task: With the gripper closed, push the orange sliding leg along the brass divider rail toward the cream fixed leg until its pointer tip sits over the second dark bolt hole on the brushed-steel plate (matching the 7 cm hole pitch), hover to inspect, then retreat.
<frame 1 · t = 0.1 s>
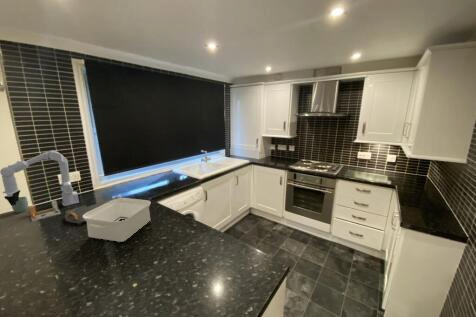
hand: (14, 203, 133), 10 cm above the countertop, fingers open, 7 cm apart
white sink basin: (122, 230, 119), on the countertop
cup: (21, 211, 142), on the countertop
slider leg: (33, 212, 134), point 3 cm above the countertop, slide at 4.5 cm
bolt plate: (46, 215, 136), on the countertop
divider rail: (45, 212, 141), on the countertop
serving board: (99, 212, 143), on the countertop
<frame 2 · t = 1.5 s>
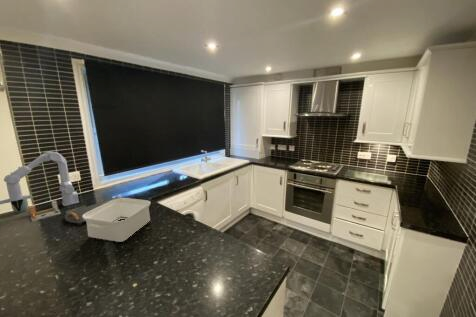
hand: (19, 210, 131), 6 cm above the countertop, fingers closed
nothing on the countertop moved.
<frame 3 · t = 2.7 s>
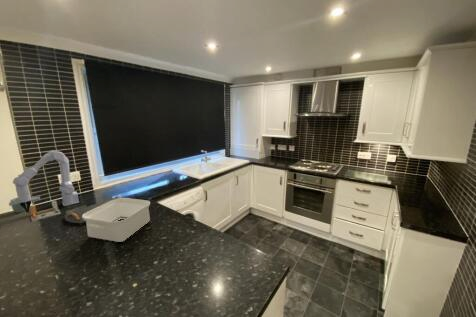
hand: (27, 211, 134), 3 cm above the countertop, fingers closed
slider leg: (33, 211, 134), point 3 cm above the countertop, slide at 4.2 cm, touching gripper
everything else where it was.
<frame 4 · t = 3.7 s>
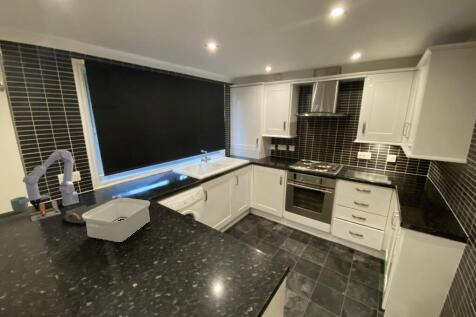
hand: (37, 209, 138), 3 cm above the countertop, fingers closed
slider leg: (43, 209, 138), point 3 cm above the countertop, slide at -0.5 cm, touching gripper
everything else where it was.
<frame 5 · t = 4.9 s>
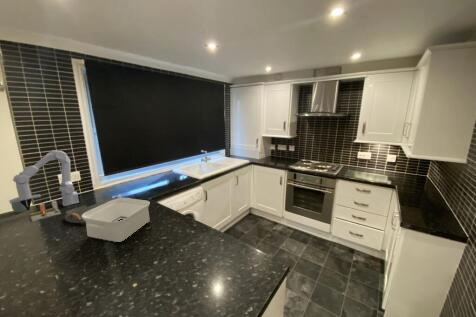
hand: (28, 209, 134), 5 cm above the countertop, fingers closed
slider leg: (43, 209, 138), point 3 cm above the countertop, slide at -0.5 cm
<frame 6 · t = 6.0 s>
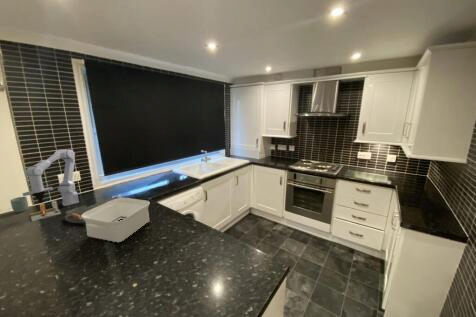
hand: (40, 202, 134), 10 cm above the countertop, fingers closed
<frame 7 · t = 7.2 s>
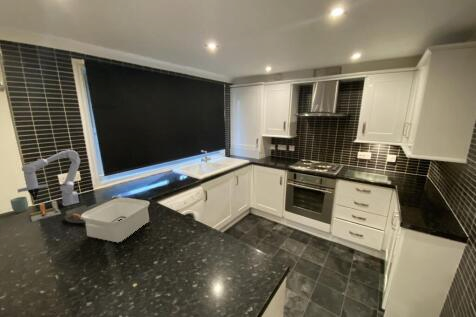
hand: (35, 198, 139), 10 cm above the countertop, fingers closed
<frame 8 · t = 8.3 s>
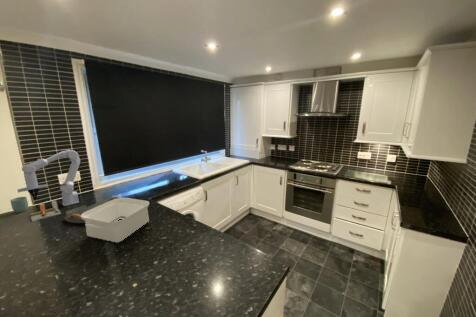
hand: (35, 198, 139), 10 cm above the countertop, fingers closed
at the end: slider leg slide at -0.5 cm; the gripper is holding nothing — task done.
